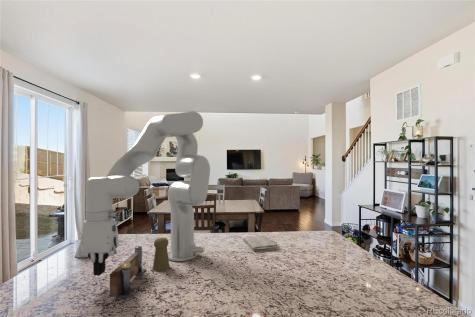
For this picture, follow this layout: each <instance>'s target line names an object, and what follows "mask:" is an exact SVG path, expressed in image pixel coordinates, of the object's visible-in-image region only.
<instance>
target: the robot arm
mask: <svg viewBox="0 0 475 317" xmlns="http://www.w3.org/2000/svg"><path fill="white" fill-rule="evenodd" d="M203 125H204V120H203V117H202V115H201V114H200V113H199V112H197V111H193V110H192V111H186V112H178V113H177V112H176V113H168V114H163V115H156V116H154V117H152V118H150V119H149V121H148V122H147V123H146V125H145V126H144V128H143V130H142V131H141V132H140V134H139V136H138V137H137V139H136V140H135V141H134V144H132V146H131V147H130V148H129V149H128V150H126V152H125V153H123V155H122V156H121V157H119V159H117V161H116V162H115V163H114V164H113V165H112V167H111V168H110V170H109V171H108V173H107V174H106V176H94V177H93V176H92V177H89V178H87V179H86V181H85V220H84V221H83V224H82V229H81V232H82V235H81V236H80V241H81V250H82V255H85V256H88V257H87V258H89V259H90V261H91V263H93V266H92V268H93V276H97V277H99V276H100V275H102V274H103V273H105V271H106V260H107V259H108V258H109V257H113V256H116V255H117V248H118V247H119V233H118V231H119V230H118V225H117V221H116V218H114V217H116V216H117V212H114V209H113V208H114V207H113V205H114V204H113V199H129V198H132V197H134V196H135V195H137V193H139V190H140V183H139V181H138V180H137V178H135V176H132V174H133V173H134V172H135V171H136V170H137V169H139V167H142V166H144V165H145V164H147V163H149V162H151V161H152V160H153V159H154V158H155V157H156V156H157V153H158V151H159V150H160V148H161V146H162V144H163V143H164V141H165V140H166V138H173V137H174V138H175V139H176V141H177V151H176V160H175V166H174V168H175V173H176V175H177V176H178V177H180V178H185V179H186V178H187V179H189V180H178V181H174V182H173V183H172V184H171V185H170V186H169V188H168V201H169V204H170V206H169V207H170V251H169V252H168V259H169V261H173V262H186V261H191V260H193V259H195V258H196V257H198V253H199V254H200V253H201V254H203V253H205V248H204V247H203V246H197V244H196V242H195V214H194V209H193V208H194V207H193V206H201V205H203V204H204V203H205V201H206V199H207V196H208V193H209V192H208V191H209V183H210V175H211V165H210V161H209V160H208V158H206V157H205V156H203V155H201V154H200V155H198V152H199V151H198V148H199V147H198V146H199V145H198V140H197V138H196V136H195V135H194V133H197V132H199V131H201V129H202V127H203Z"/></svg>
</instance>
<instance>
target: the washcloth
mask: <svg viewBox="0 0 475 317" xmlns="http://www.w3.org/2000/svg"><path fill="white" fill-rule="evenodd" d="M242 241H243V242H244V243H245V244H246V245H247V246H248V247H249V248H250V250H251V249H252V250H251V251H252V252H253V253H255V251H256V253H260V252H261V251H263V252H270V251H272V250H273V251H276V250H277V247H276V246H277V244H276V243H275V242H274V240H272V239H271V238H270V237H269V236H267V235H266V234H261V235H255V236H245V237H243V238H242Z"/></svg>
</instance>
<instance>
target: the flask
mask: <svg viewBox="0 0 475 317" xmlns="http://www.w3.org/2000/svg"><path fill="white" fill-rule="evenodd" d="M80 234H81V235H82V231H81V232H80ZM74 258H78V259H79V258H80V259H81V258H89V257H88V256H85V255H82V250H81V240H80V242H79V245H78V248H77V250H76V252H75V255H74Z"/></svg>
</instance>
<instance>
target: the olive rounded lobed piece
mask: <svg viewBox="0 0 475 317" xmlns="http://www.w3.org/2000/svg"><path fill="white" fill-rule="evenodd" d="M168 246H169V240H168V238H167V237H158V238H156V239H155V240H154V242H153V247H154V248H155V250H154V256H153V257H154V258H153V263H152V264H153V265H152V271H154V272H165V271H167V270H169V269H170V268H171V267H170V260H169V259H168V253H169V252H168Z"/></svg>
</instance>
